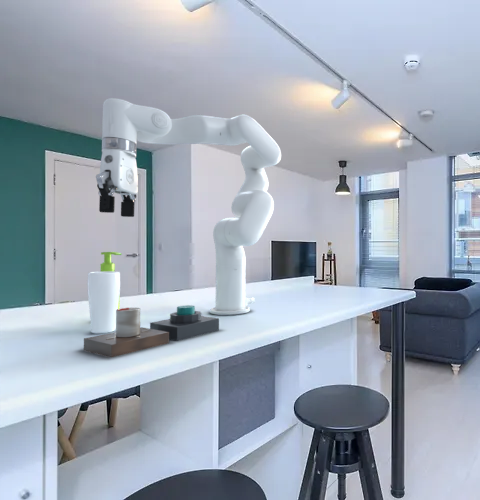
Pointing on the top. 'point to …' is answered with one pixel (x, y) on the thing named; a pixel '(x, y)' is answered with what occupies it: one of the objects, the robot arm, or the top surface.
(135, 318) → the lock knob
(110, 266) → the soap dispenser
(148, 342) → the panel
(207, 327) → the button base
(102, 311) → the white lotion bottle
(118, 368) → the top surface
